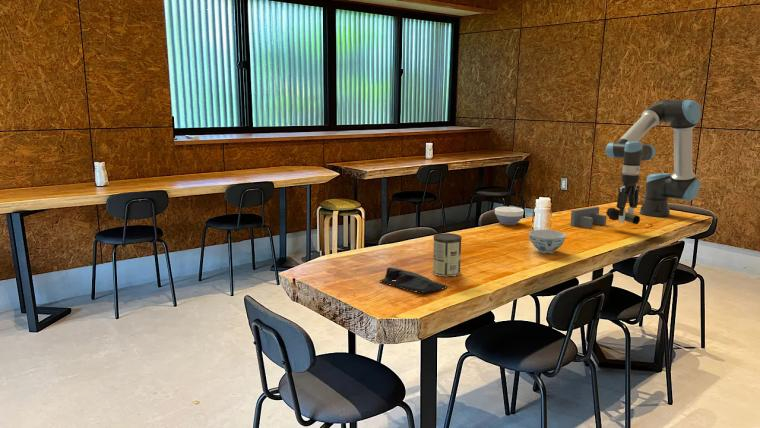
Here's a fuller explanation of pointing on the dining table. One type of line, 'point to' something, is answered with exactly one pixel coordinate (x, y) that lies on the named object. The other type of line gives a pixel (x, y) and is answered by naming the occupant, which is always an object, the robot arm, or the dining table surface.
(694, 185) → the robot arm
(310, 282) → the dining table surface
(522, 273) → the dining table surface
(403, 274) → the black cloth
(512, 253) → the dining table surface
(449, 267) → the coffee can
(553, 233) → the chinaware
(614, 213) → the black flashlight
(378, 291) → the dining table surface
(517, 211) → the bowl
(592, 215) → the socket block
